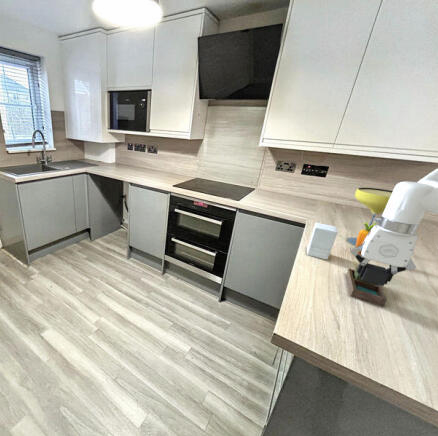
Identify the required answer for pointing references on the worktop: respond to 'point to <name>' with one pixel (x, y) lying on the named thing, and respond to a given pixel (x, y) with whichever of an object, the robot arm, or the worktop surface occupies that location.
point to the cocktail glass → (372, 202)
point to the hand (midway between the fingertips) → (371, 278)
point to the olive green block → (358, 276)
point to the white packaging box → (321, 240)
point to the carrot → (363, 235)
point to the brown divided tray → (365, 290)
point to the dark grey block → (375, 274)
